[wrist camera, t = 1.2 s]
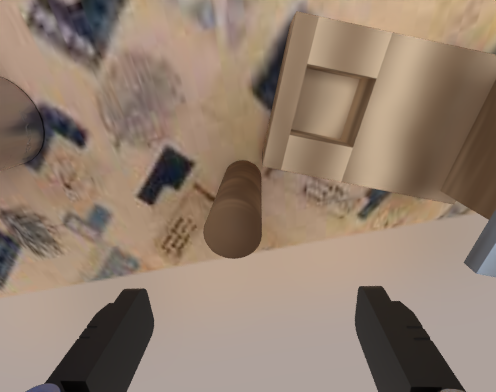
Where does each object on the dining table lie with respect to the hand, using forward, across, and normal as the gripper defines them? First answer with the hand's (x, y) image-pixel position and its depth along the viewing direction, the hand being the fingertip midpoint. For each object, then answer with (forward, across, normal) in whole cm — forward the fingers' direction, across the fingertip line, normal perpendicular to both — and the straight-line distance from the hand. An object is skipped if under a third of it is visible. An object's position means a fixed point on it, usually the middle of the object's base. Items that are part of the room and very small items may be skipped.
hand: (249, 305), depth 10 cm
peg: (+20, +2, +2) cm, 20 cm away
